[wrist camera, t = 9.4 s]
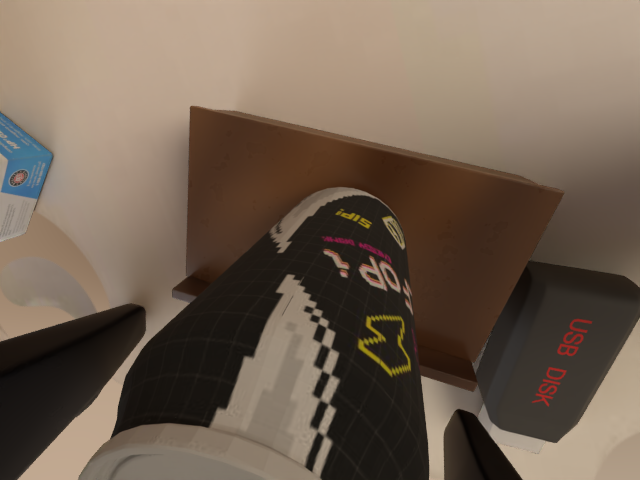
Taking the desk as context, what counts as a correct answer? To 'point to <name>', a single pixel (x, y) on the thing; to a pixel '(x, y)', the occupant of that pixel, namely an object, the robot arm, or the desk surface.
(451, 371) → the step shelf
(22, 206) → the ink box
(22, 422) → the robot arm
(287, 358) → the beverage can
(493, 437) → the usb drive
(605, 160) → the desk surface
